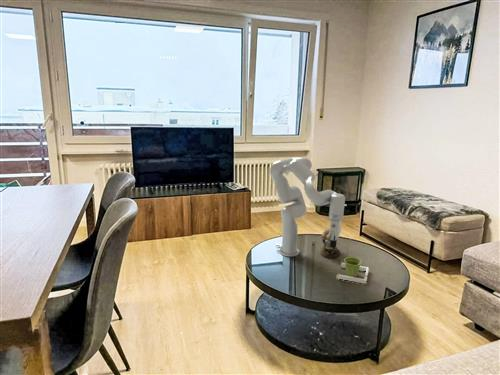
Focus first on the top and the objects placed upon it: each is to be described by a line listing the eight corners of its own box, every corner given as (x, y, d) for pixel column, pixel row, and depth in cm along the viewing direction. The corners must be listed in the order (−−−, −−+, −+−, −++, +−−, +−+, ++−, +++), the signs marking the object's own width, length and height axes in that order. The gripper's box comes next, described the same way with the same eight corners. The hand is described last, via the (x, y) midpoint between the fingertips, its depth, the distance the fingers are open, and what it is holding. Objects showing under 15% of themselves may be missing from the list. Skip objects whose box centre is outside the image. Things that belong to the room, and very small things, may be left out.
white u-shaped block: (336, 279, 186) (336, 273, 185) (340, 266, 199) (341, 261, 198) (365, 284, 180) (366, 279, 179) (368, 271, 193) (368, 266, 192)
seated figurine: (340, 260, 207) (341, 234, 202) (320, 258, 209) (321, 233, 205) (338, 247, 224) (340, 223, 219) (320, 246, 226) (321, 222, 222)
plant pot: (363, 274, 190) (364, 260, 187) (355, 281, 183) (356, 266, 181) (348, 269, 196) (349, 255, 194) (339, 275, 190) (340, 261, 187)
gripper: (340, 222, 177) (337, 253, 182) (345, 212, 190) (341, 242, 196) (326, 219, 180) (323, 250, 185) (331, 210, 193) (328, 239, 198)
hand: (332, 246), depth 190 cm, fingers closed
